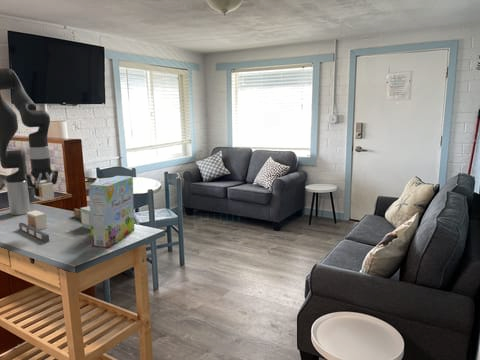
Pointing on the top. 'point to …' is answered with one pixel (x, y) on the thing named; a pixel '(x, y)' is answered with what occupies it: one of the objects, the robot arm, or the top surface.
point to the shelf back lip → (77, 213)
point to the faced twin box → (36, 220)
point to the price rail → (34, 232)
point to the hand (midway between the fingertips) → (43, 195)
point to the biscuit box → (45, 191)
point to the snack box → (111, 210)
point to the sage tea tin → (86, 217)
